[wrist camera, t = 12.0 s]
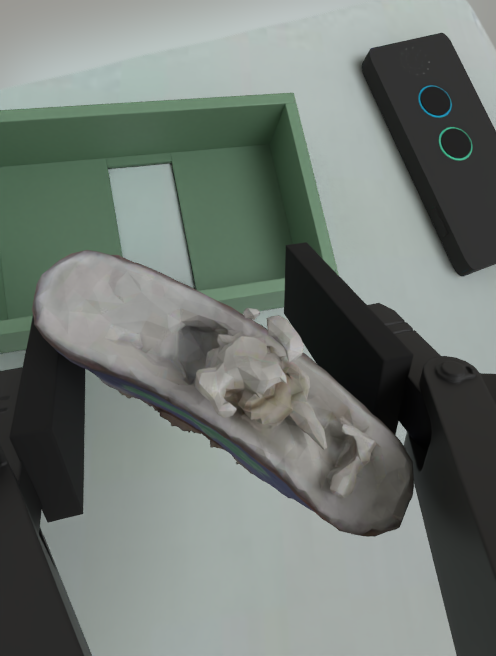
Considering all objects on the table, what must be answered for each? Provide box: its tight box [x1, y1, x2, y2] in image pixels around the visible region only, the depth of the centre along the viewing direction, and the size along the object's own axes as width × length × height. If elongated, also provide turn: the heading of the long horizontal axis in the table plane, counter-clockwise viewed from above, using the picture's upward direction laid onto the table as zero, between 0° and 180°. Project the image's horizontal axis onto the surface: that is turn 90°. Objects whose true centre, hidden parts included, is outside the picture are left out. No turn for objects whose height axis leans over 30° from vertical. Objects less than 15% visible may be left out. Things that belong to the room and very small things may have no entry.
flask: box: [32, 250, 414, 536], centre depth 13 cm, size 9×3×11 cm, turn 58°
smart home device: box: [362, 33, 496, 276], centre depth 38 cm, size 8×2×20 cm
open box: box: [0, 93, 339, 353], centre depth 30 cm, size 22×14×5 cm, turn 101°
